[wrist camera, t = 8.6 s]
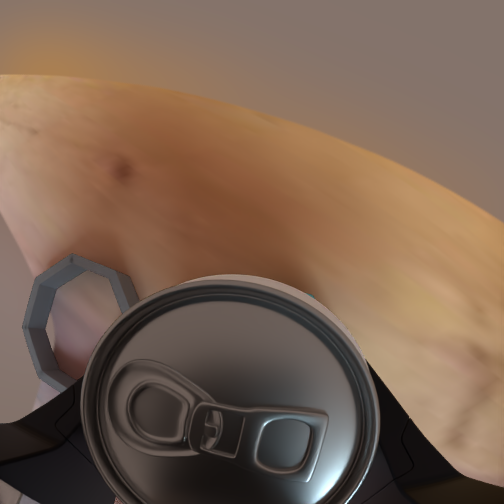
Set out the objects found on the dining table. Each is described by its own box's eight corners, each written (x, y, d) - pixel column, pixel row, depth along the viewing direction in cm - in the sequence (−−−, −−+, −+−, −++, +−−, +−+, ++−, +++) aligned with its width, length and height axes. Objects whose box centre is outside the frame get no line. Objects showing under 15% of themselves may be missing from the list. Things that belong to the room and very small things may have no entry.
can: (210, 298, 17) (99, 226, 6) (325, 320, 17) (431, 289, 5) (187, 406, 16) (59, 499, 4) (300, 431, 15) (342, 573, 3)
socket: (126, 416, 16) (112, 423, 15) (32, 359, 18) (15, 360, 16) (164, 289, 18) (152, 284, 16) (63, 250, 20) (47, 242, 18)
